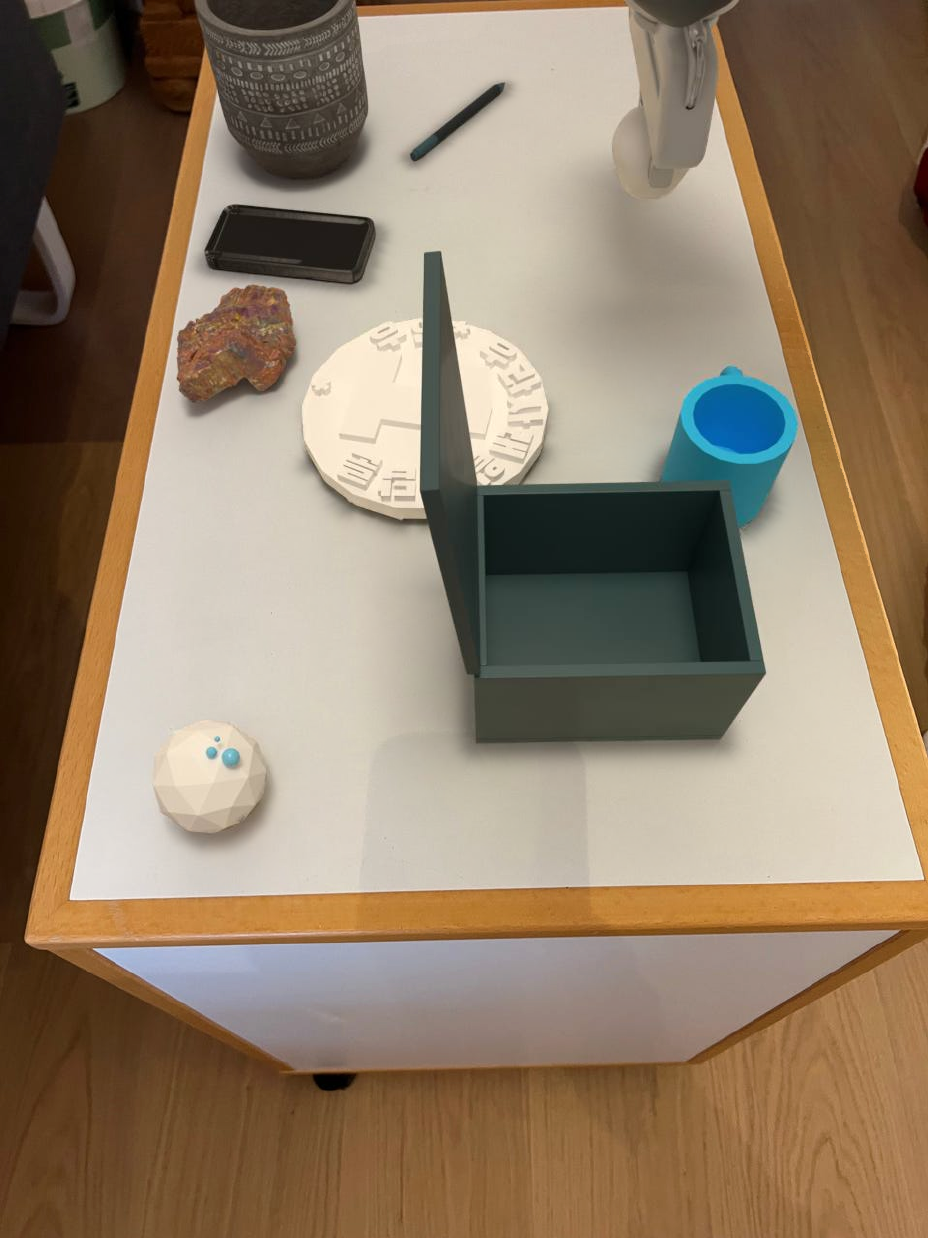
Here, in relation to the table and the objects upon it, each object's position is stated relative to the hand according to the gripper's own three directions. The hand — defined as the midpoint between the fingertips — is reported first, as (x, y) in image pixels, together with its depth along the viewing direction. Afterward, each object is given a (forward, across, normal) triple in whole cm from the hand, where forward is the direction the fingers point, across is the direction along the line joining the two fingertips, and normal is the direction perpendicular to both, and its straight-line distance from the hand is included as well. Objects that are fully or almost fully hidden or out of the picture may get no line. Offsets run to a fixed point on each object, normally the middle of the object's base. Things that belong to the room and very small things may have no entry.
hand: (652, 150), depth 73 cm
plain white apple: (+4, 0, 0) cm, 4 cm away
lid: (-10, -42, +16) cm, 46 cm away
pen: (+10, +20, +17) cm, 28 cm away
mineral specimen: (+10, -14, +36) cm, 39 cm away
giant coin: (+10, -21, +20) cm, 30 cm away
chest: (+10, -42, +7) cm, 44 cm away
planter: (+9, +16, +33) cm, 38 cm away
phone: (+9, +1, +33) cm, 34 cm away
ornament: (+10, -52, +32) cm, 62 cm away
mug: (+10, -26, -4) cm, 28 cm away
